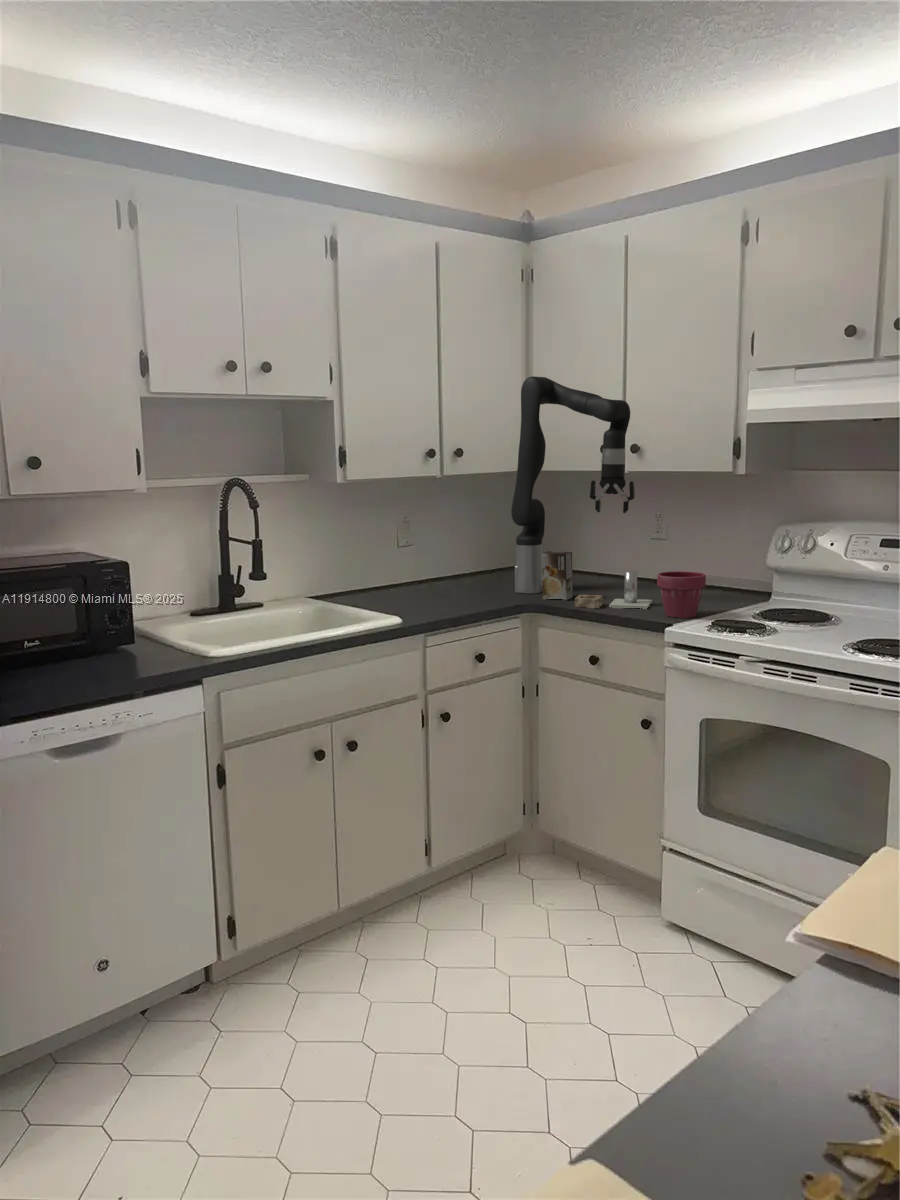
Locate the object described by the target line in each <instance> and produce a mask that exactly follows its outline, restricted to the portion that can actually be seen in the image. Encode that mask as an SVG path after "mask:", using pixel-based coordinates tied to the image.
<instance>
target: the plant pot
mask: <svg viewBox="0 0 900 1200" xmlns="http://www.w3.org/2000/svg"><path fill="white" fill-rule="evenodd" d="M656 577H657V579H656V584H657V585H656V586H657V587H658V588H659V589H660V590H659V591H660V595H661V600H662V601H661V602H662V605H663V610H664V615H665V617H666V616H667V617H669V616H670V617H669V618H674V617H677V618H676V619H690V618H695V617H696V616H697V614H698V609H699V606H700V602H701V597H702V593H703V588H705V587H706V581H707V580H706V578H707V575H706V573H704V572H699V571H698V572H697V571H686V570H685V571H684V570H683V571H677V570H676V571H663V572H659V573H657V576H656Z"/></svg>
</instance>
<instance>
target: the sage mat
mask: <svg viewBox="0 0 900 1200" xmlns="http://www.w3.org/2000/svg"><path fill="white" fill-rule="evenodd" d="M652 603H653V600H652V599H641V598H639V599H638V598H637V603H624V598H614V599H613V600H612V602H610V603H609V605H608V608H609V607H610V608H609V609H623V608H640V609H639V610H648V609H649V608H650V606H651V605H652ZM650 604H651V605H650ZM611 607H612V608H611ZM648 607H649V608H648ZM641 608H642V609H641ZM647 608H648V609H647Z"/></svg>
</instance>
